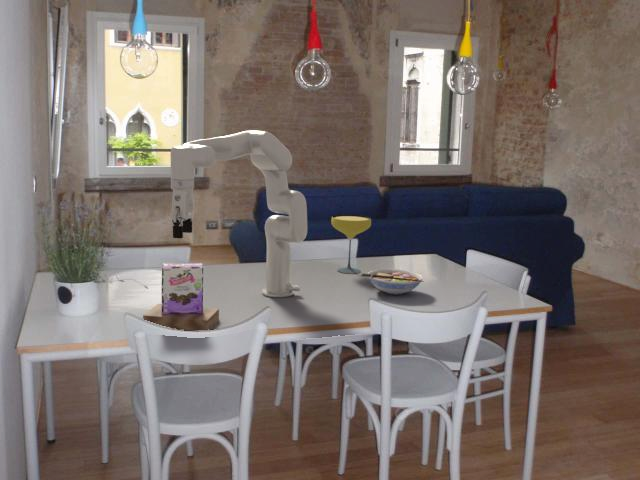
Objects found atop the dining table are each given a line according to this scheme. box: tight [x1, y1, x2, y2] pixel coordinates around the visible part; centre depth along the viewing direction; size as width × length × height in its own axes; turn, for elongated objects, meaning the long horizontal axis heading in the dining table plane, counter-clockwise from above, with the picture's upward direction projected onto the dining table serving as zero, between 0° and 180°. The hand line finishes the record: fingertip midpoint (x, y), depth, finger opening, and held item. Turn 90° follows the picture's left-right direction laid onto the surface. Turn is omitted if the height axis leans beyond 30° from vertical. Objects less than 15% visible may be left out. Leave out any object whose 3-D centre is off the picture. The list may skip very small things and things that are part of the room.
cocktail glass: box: [330, 213, 372, 274], centre depth 324 cm, size 18×18×25 cm
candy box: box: [161, 263, 204, 314], centre depth 240 cm, size 14×6×16 cm, turn 101°
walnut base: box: [142, 303, 220, 331], centre depth 242 cm, size 22×14×4 cm, turn 82°
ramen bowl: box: [360, 268, 424, 296], centre depth 291 cm, size 25×23×8 cm
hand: (182, 235), depth 236 cm, fingers open, 9 cm apart
